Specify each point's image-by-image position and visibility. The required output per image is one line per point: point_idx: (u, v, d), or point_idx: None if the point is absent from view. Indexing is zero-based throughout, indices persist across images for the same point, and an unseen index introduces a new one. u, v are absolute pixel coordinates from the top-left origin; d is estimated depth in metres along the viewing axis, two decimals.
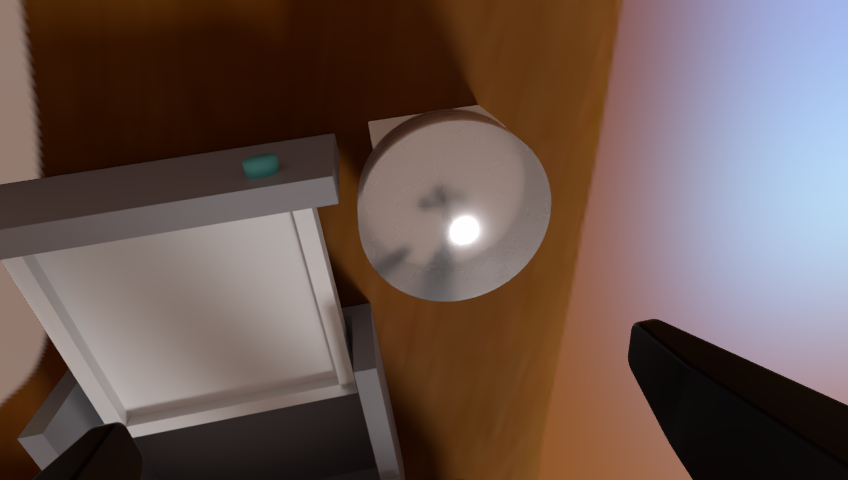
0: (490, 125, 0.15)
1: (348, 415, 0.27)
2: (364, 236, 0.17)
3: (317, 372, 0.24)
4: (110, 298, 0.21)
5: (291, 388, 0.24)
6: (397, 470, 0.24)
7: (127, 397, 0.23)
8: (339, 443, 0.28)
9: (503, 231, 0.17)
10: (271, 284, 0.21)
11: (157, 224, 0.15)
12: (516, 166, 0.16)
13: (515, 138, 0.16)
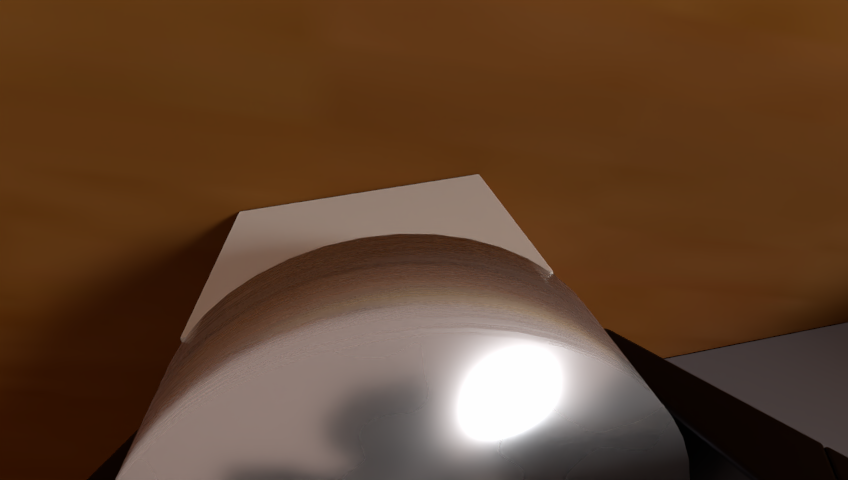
0: None
1: None
2: None
3: None
4: None
5: None
6: None
7: None
8: None
9: (472, 460, 0.05)
10: None
11: None
12: (221, 478, 0.04)
13: None
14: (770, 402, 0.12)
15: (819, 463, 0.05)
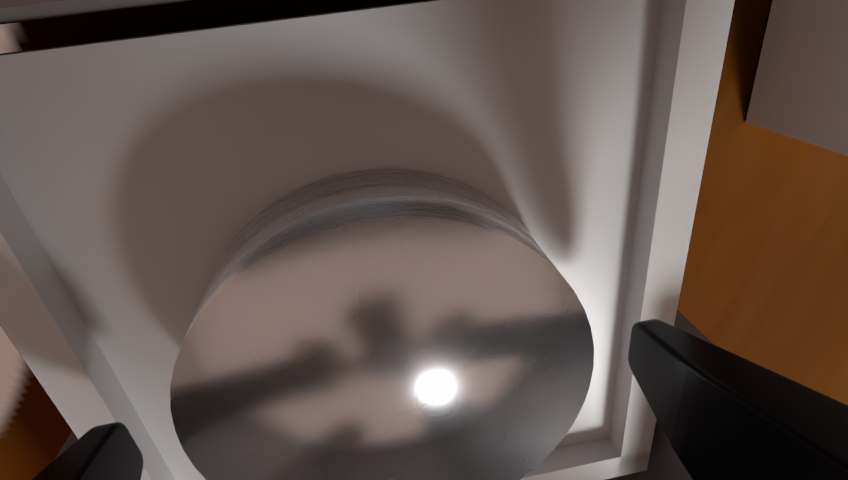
0: (173, 381, 0.07)
1: None
2: None
3: (572, 431, 0.12)
4: (183, 274, 0.08)
5: None
6: None
7: None
8: None
9: (433, 319, 0.07)
10: (544, 246, 0.09)
11: None
12: (263, 321, 0.07)
13: (191, 334, 0.07)
14: None
15: None
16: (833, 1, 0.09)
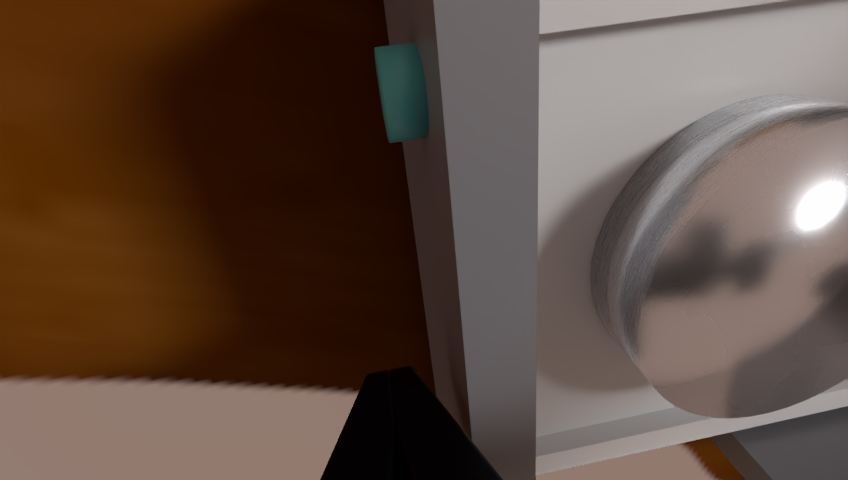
0: (698, 412, 0.11)
1: None
2: None
3: None
4: (633, 366, 0.13)
5: None
6: None
7: None
8: None
9: (740, 263, 0.09)
10: (703, 109, 0.09)
11: (514, 357, 0.06)
12: (683, 366, 0.10)
13: (672, 401, 0.10)
14: None
15: None
16: None
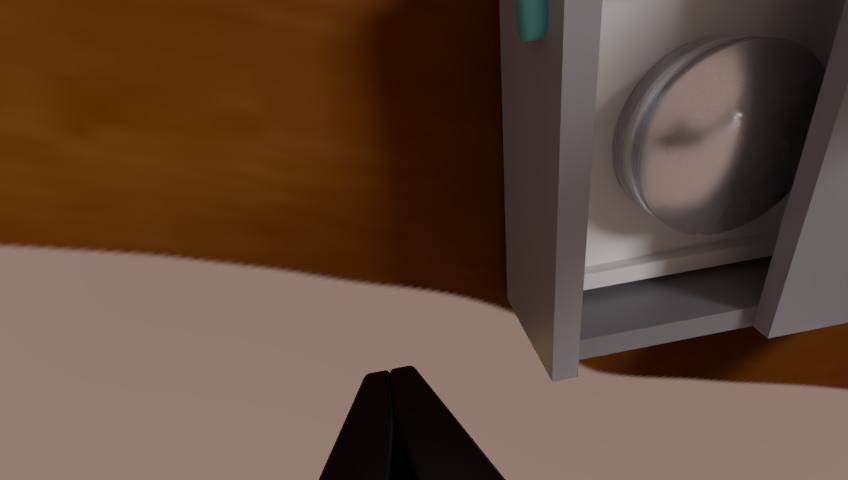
0: (676, 229, 0.18)
1: None
2: None
3: None
4: (638, 218, 0.20)
5: None
6: None
7: (754, 228, 0.21)
8: None
9: (697, 125, 0.16)
10: (679, 42, 0.16)
11: (582, 144, 0.13)
12: (667, 193, 0.17)
13: (660, 218, 0.17)
14: None
15: None
16: None
